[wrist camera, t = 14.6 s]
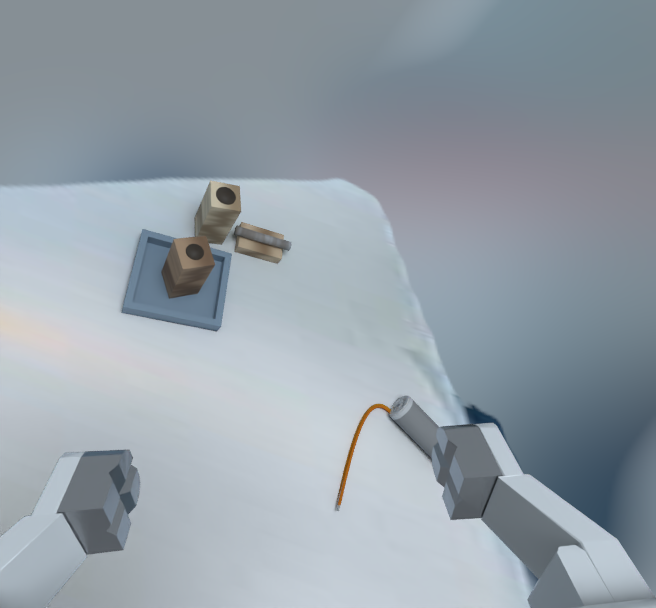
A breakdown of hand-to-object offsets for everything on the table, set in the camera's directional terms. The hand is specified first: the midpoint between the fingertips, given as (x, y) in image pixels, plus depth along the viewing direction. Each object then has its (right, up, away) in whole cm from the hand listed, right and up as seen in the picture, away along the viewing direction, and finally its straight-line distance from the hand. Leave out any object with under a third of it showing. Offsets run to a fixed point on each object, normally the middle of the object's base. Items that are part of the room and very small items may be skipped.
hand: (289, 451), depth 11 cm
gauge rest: (-12, +15, +66) cm, 68 cm away
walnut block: (-22, +7, +56) cm, 60 cm away
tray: (-23, +7, +56) cm, 61 cm away
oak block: (-20, +17, +62) cm, 67 cm away
